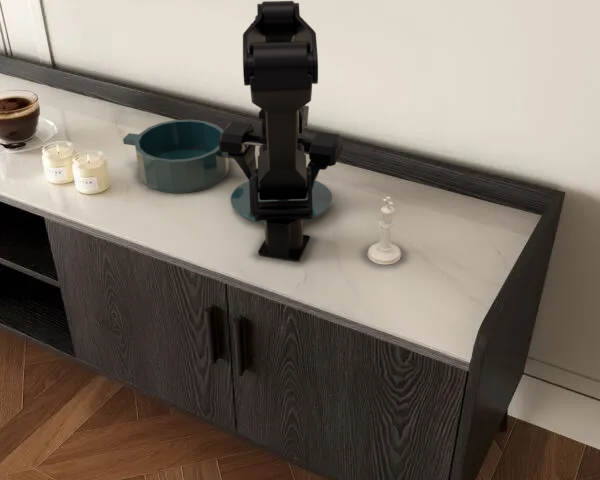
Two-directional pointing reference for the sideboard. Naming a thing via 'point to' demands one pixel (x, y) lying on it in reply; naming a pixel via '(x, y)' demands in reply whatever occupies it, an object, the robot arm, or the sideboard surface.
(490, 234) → the sideboard surface
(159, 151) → the pot
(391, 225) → the chess piece
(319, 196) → the lid
